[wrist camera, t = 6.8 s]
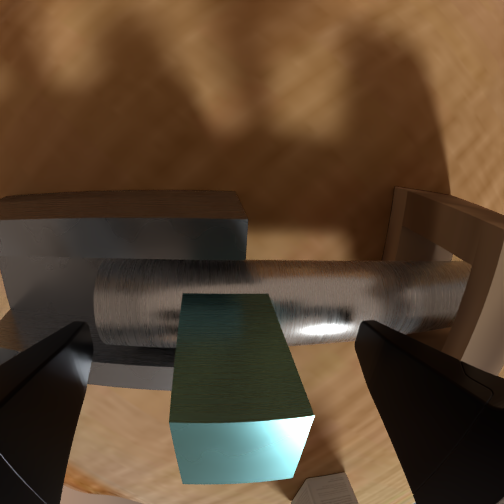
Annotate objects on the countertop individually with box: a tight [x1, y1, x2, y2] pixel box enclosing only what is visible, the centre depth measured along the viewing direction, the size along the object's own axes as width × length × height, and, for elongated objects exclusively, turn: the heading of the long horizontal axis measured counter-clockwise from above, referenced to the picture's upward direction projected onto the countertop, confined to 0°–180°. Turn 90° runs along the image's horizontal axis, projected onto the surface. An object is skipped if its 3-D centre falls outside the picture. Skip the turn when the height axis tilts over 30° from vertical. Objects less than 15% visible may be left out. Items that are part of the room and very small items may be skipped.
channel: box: [0, 190, 248, 391], centre depth 11 cm, size 11×6×4 cm, turn 86°
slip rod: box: [94, 258, 472, 484], centre depth 9 cm, size 15×3×8 cm, turn 86°
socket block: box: [382, 186, 504, 376], centre depth 12 cm, size 4×8×7 cm, turn 176°
